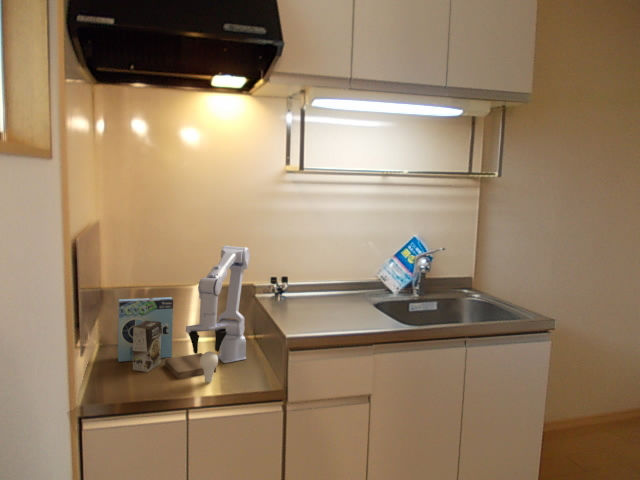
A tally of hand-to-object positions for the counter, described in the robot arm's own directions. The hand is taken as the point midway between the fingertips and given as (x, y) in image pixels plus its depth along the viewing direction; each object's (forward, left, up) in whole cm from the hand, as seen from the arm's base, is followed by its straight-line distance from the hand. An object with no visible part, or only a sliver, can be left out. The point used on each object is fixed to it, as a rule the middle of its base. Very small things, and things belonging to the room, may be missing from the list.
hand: (206, 351), depth 173 cm
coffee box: (+13, -22, -11) cm, 28 cm away
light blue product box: (+11, -31, -11) cm, 35 cm away
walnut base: (0, -13, -11) cm, 17 cm away
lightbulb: (-1, +1, -11) cm, 11 cm away
